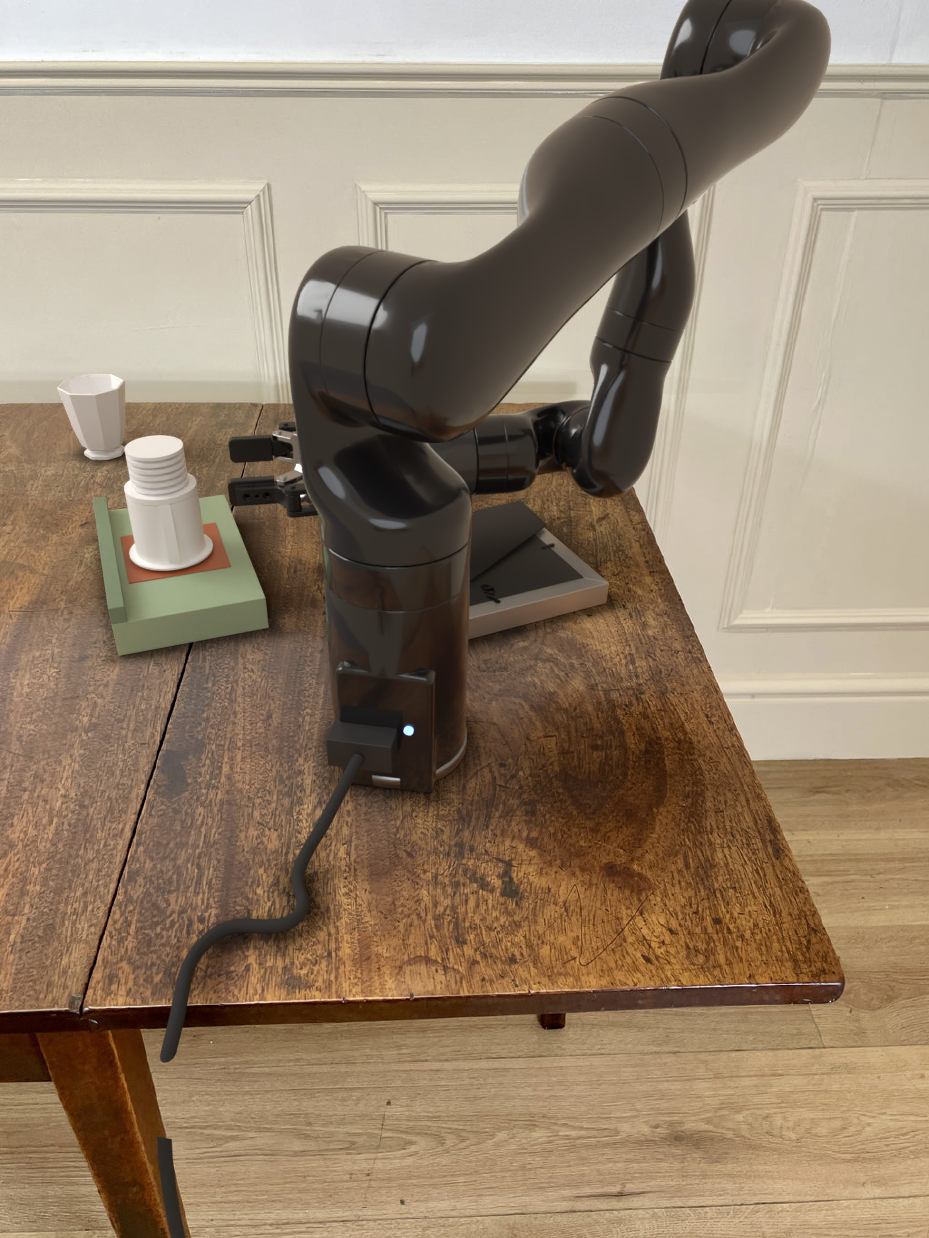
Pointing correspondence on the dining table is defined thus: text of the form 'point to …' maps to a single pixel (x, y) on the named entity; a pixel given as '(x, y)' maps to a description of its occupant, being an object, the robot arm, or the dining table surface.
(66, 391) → the cup
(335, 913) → the dining table surface
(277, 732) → the dining table surface
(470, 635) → the picture frame
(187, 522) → the downlight
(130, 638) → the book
